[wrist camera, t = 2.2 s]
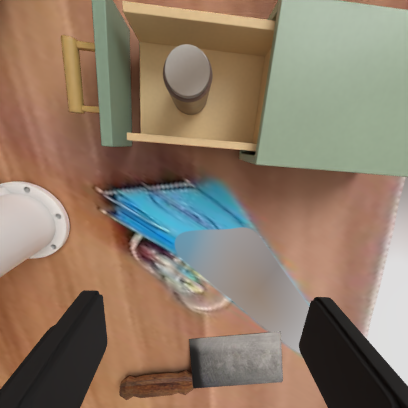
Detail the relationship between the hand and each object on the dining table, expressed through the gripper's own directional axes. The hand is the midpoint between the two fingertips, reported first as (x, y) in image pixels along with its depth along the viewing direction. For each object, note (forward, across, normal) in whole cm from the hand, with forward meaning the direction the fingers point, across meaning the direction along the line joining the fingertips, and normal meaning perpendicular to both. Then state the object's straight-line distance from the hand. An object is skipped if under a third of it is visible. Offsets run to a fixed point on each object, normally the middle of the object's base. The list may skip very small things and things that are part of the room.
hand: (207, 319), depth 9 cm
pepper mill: (+21, +2, -13) cm, 25 cm away
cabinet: (+23, -16, -13) cm, 31 cm away
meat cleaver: (+23, -2, +36) cm, 43 cm away
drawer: (+22, +4, -13) cm, 26 cm away
